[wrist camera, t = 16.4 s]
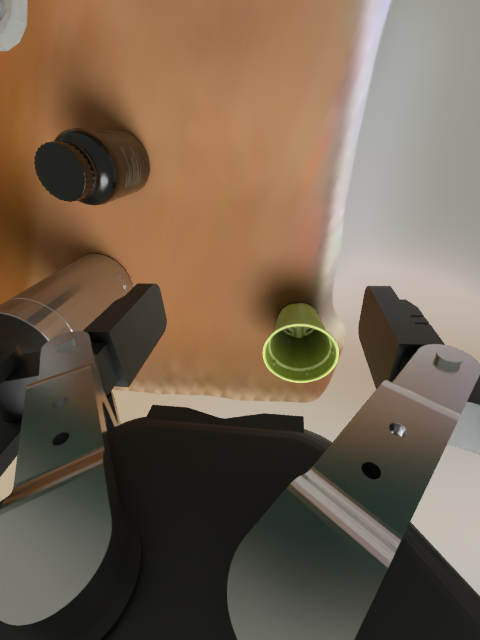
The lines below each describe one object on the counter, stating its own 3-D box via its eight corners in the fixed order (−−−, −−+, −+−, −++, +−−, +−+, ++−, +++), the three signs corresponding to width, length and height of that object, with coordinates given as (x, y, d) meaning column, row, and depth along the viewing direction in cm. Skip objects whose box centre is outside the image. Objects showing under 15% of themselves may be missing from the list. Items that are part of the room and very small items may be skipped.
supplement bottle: (98, 183, 38) (28, 201, 28) (97, 121, 34) (15, 116, 24) (149, 199, 38) (97, 222, 28) (153, 139, 34) (96, 141, 24)
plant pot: (293, 279, 41) (293, 310, 34) (344, 314, 43) (355, 351, 35) (255, 323, 46) (248, 359, 38) (302, 353, 47) (304, 393, 40)
